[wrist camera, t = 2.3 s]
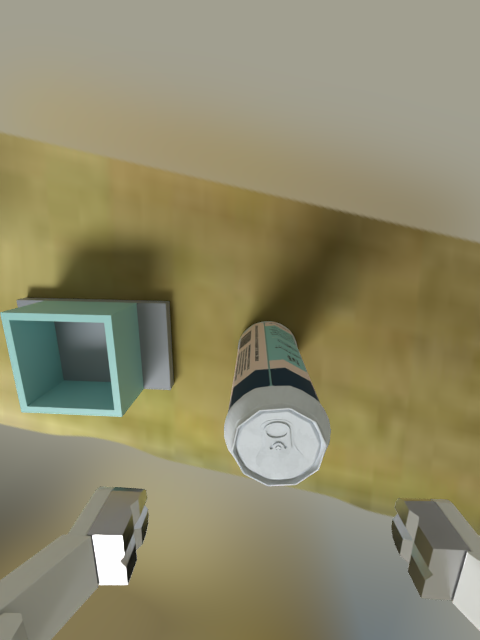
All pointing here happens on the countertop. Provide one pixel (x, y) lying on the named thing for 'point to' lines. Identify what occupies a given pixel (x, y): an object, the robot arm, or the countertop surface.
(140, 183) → the countertop surface
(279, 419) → the beer can
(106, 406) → the can stand
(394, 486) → the countertop surface
